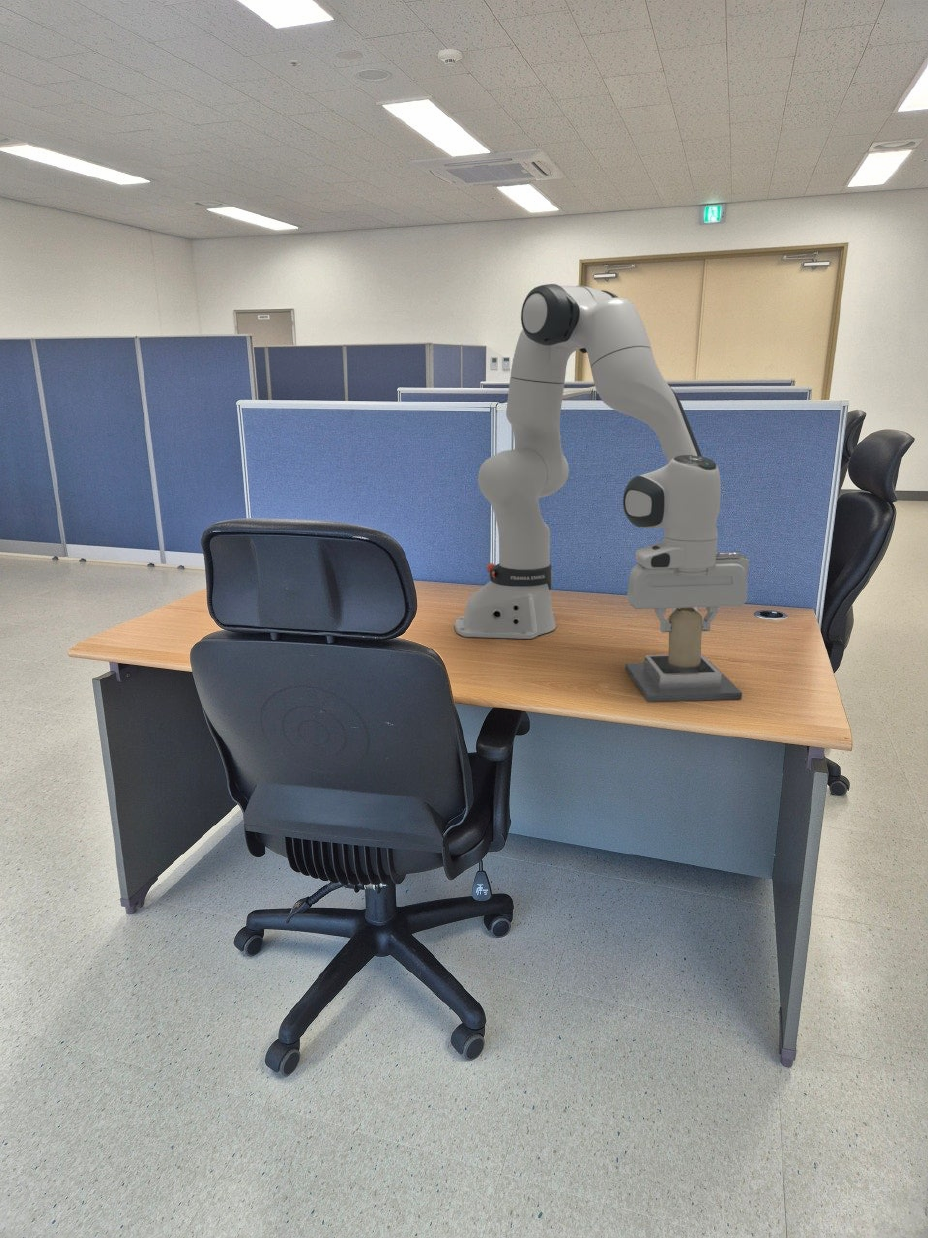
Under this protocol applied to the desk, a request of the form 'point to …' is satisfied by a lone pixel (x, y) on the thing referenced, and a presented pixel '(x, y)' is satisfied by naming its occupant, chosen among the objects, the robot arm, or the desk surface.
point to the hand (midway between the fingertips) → (684, 631)
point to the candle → (685, 638)
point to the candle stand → (680, 681)
